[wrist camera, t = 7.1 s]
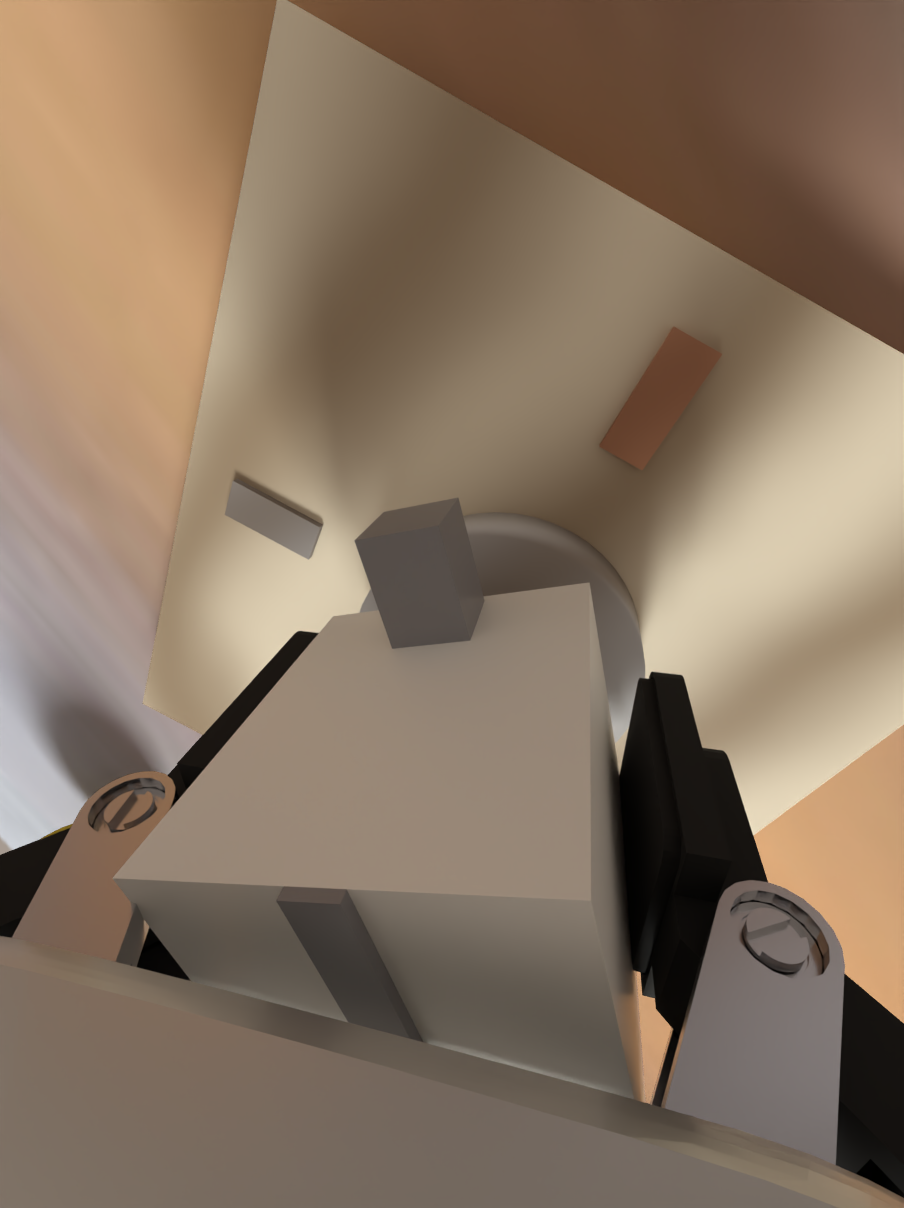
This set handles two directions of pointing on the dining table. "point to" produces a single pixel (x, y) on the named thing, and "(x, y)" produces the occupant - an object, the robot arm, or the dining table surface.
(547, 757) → the white box
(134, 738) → the dining table surface
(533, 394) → the base
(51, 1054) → the robot arm
